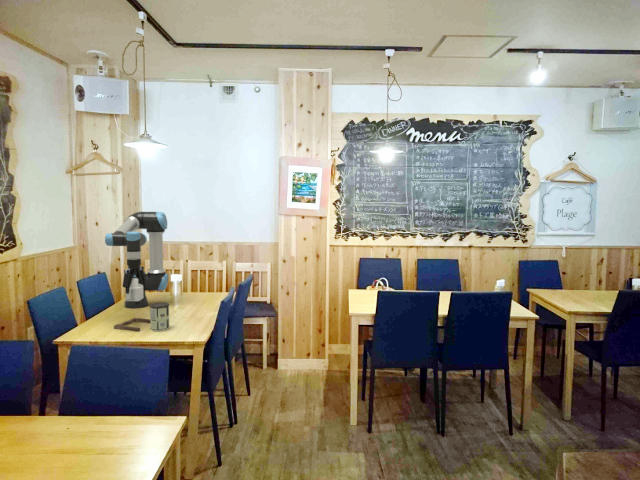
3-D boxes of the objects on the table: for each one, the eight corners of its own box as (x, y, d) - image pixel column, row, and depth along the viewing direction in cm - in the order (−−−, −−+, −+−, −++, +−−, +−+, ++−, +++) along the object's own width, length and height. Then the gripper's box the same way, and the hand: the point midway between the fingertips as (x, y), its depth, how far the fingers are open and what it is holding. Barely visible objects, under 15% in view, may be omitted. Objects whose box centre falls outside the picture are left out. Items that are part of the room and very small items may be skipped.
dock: (134, 320, 275) (134, 317, 275) (157, 323, 271) (157, 320, 271) (113, 328, 258) (113, 325, 258) (137, 331, 254) (137, 328, 254)
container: (130, 298, 266) (129, 276, 264) (143, 298, 266) (143, 276, 265) (125, 301, 258) (124, 278, 257) (139, 301, 259) (138, 278, 257)
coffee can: (159, 325, 267) (159, 301, 266) (173, 327, 263) (172, 303, 262) (146, 329, 258) (145, 305, 257) (159, 332, 254) (159, 307, 252)
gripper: (141, 255, 271) (141, 292, 274) (114, 260, 250) (115, 300, 253) (151, 256, 269) (152, 293, 272) (125, 261, 248) (126, 301, 251)
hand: (134, 296), depth 262 cm, fingers closed on container, 9 cm apart
